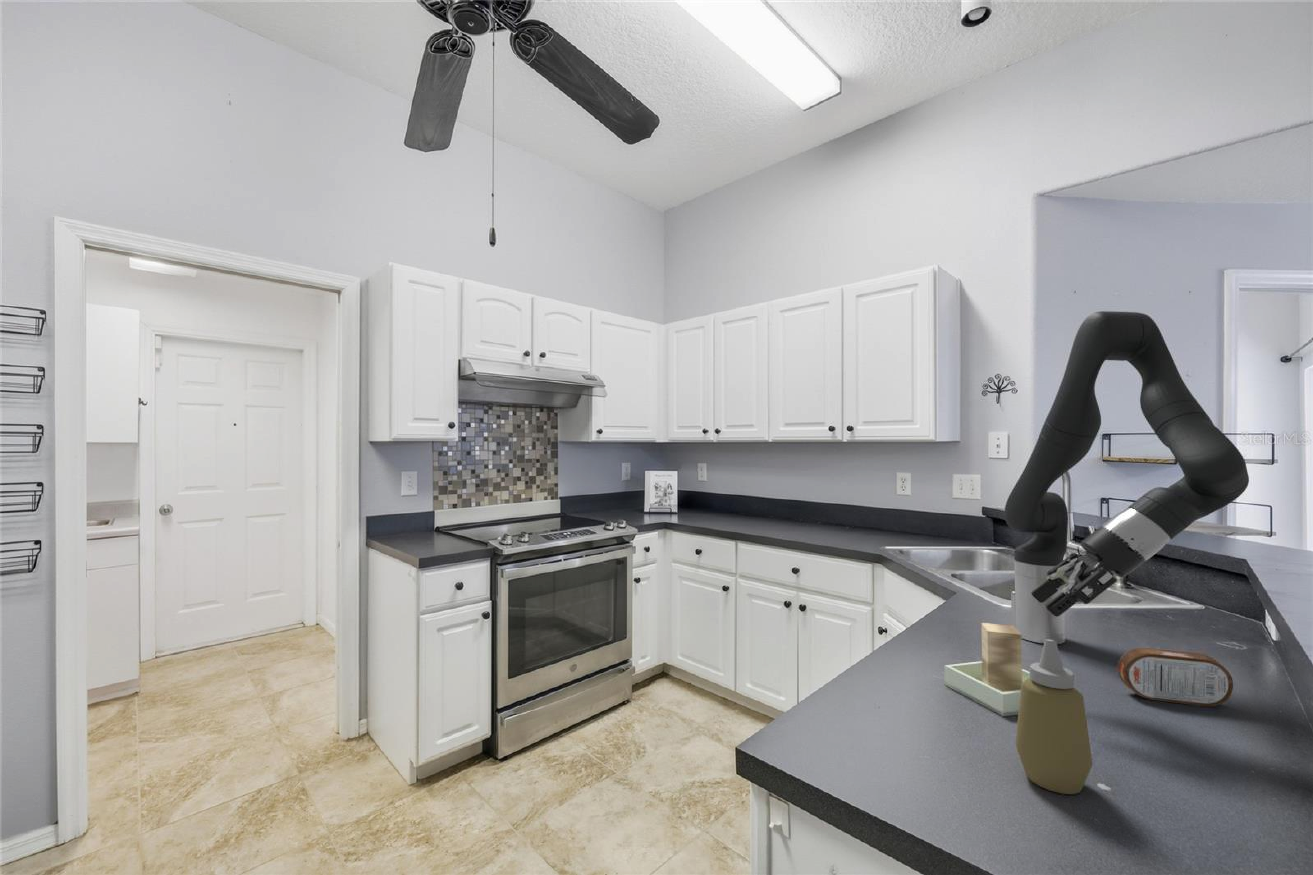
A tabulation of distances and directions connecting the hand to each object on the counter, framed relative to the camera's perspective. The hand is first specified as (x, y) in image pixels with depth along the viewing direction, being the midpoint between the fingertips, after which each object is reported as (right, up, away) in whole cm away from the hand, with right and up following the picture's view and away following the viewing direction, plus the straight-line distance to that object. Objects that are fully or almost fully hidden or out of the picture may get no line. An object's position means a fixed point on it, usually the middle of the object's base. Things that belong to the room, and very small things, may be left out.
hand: (1042, 605), depth 94 cm
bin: (-6, -16, +2) cm, 18 cm away
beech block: (-6, -16, +2) cm, 17 cm away
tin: (+22, -17, 0) cm, 28 cm away
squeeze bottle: (-15, -16, -23) cm, 32 cm away
